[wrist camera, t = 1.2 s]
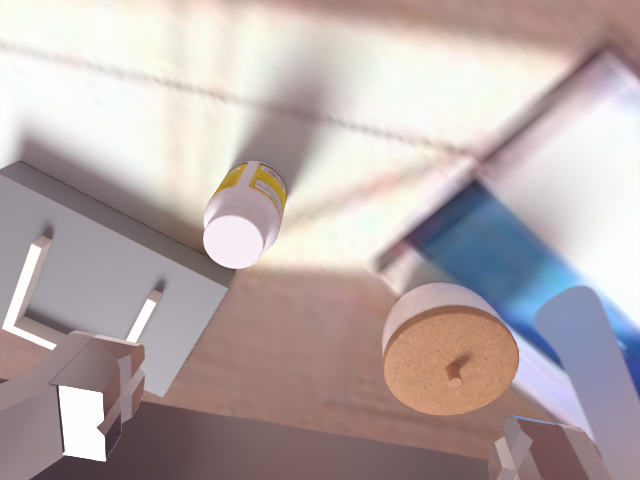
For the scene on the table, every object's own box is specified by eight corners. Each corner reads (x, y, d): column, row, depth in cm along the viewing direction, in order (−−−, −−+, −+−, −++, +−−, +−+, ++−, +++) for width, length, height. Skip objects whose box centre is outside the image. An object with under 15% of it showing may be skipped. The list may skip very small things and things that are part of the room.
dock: (-21, 290, 43) (-57, 318, 39) (19, 160, 37) (-19, 177, 33) (172, 375, 47) (157, 409, 43) (235, 271, 41) (224, 298, 37)
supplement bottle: (223, 216, 39) (191, 273, 30) (224, 155, 36) (190, 198, 28) (285, 223, 39) (271, 282, 30) (290, 163, 37) (277, 208, 28)
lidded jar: (353, 299, 42) (359, 368, 34) (455, 241, 39) (488, 301, 31) (411, 371, 46) (429, 449, 38) (508, 323, 43) (551, 396, 35)
